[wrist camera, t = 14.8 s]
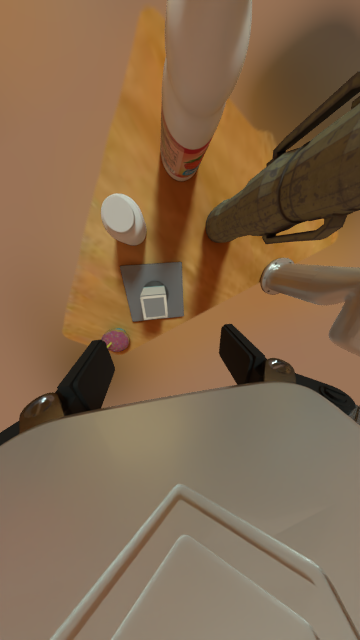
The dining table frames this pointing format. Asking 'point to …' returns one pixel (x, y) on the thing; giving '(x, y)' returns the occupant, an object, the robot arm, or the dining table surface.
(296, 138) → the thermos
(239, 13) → the fruit juice
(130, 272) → the post base
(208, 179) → the dining table surface
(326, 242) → the dining table surface
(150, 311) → the white rectangular block
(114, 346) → the cupcake
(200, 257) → the dining table surface
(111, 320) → the dining table surface
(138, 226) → the pill bottle
